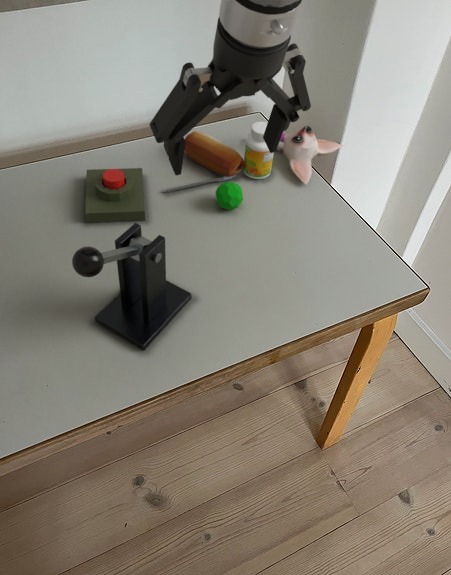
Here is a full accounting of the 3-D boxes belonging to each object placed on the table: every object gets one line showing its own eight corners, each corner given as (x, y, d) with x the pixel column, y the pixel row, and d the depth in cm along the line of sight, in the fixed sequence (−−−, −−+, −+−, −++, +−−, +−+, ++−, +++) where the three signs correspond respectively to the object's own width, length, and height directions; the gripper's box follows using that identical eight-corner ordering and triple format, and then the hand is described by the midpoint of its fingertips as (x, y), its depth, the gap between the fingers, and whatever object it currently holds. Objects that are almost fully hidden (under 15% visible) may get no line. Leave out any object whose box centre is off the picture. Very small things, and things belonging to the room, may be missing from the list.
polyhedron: (213, 196, 105) (215, 175, 101) (240, 196, 106) (242, 176, 102) (215, 215, 102) (217, 194, 98) (243, 215, 102) (245, 194, 99)
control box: (88, 179, 106) (85, 161, 103) (142, 177, 107) (141, 159, 104) (86, 223, 98) (83, 205, 95) (145, 220, 100) (144, 202, 97)
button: (103, 177, 101) (102, 169, 100) (124, 176, 102) (123, 168, 100) (103, 190, 99) (102, 182, 97) (124, 189, 99) (124, 181, 98)
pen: (166, 189, 104) (236, 173, 109) (166, 189, 105) (235, 174, 109) (168, 193, 104) (237, 177, 109) (167, 194, 105) (236, 178, 109)
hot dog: (229, 165, 104) (247, 150, 106) (175, 136, 109) (192, 122, 111) (231, 185, 108) (247, 170, 110) (178, 156, 113) (195, 142, 115)
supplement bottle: (237, 169, 111) (241, 125, 103) (257, 159, 113) (263, 115, 106) (255, 183, 108) (261, 139, 101) (276, 173, 111) (283, 129, 103)
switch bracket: (143, 351, 82) (139, 281, 71) (95, 322, 84) (82, 251, 73) (191, 298, 89) (194, 227, 78) (145, 273, 91) (141, 201, 80)
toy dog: (285, 90, 115) (350, 124, 111) (278, 121, 121) (339, 154, 117) (244, 126, 107) (312, 164, 103) (239, 158, 114) (303, 194, 110)
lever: (86, 285, 66) (94, 256, 64) (62, 271, 67) (69, 243, 65) (153, 264, 78) (160, 240, 77) (132, 253, 79) (139, 229, 78)
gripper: (147, 74, 52) (141, 200, 71) (378, 32, 59) (317, 157, 78) (122, 15, 55) (123, 152, 74) (346, -19, 62) (294, 115, 81)
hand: (223, 155), depth 76 cm, fingers open, 13 cm apart
